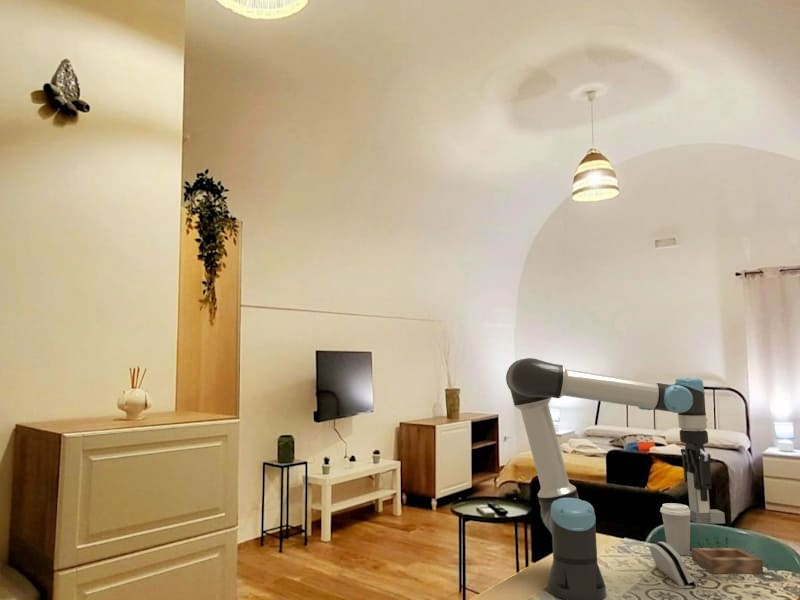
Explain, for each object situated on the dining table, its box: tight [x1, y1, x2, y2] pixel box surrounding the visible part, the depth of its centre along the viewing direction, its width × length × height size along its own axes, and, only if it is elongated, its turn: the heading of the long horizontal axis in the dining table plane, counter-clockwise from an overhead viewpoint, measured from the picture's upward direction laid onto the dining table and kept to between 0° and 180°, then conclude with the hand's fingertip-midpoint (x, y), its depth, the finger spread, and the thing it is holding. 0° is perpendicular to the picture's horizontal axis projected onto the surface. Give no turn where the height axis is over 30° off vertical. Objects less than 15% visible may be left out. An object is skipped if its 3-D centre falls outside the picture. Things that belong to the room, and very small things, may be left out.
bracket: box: [687, 472, 726, 524], centre depth 167 cm, size 8×4×14 cm, turn 88°
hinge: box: [648, 541, 699, 587], centre depth 166 cm, size 17×5×10 cm, turn 177°
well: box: [690, 547, 764, 575], centre depth 173 cm, size 15×12×4 cm
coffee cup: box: [659, 502, 691, 556], centre depth 187 cm, size 10×10×15 cm
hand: (699, 510), depth 166 cm, fingers closed on bracket, 4 cm apart
